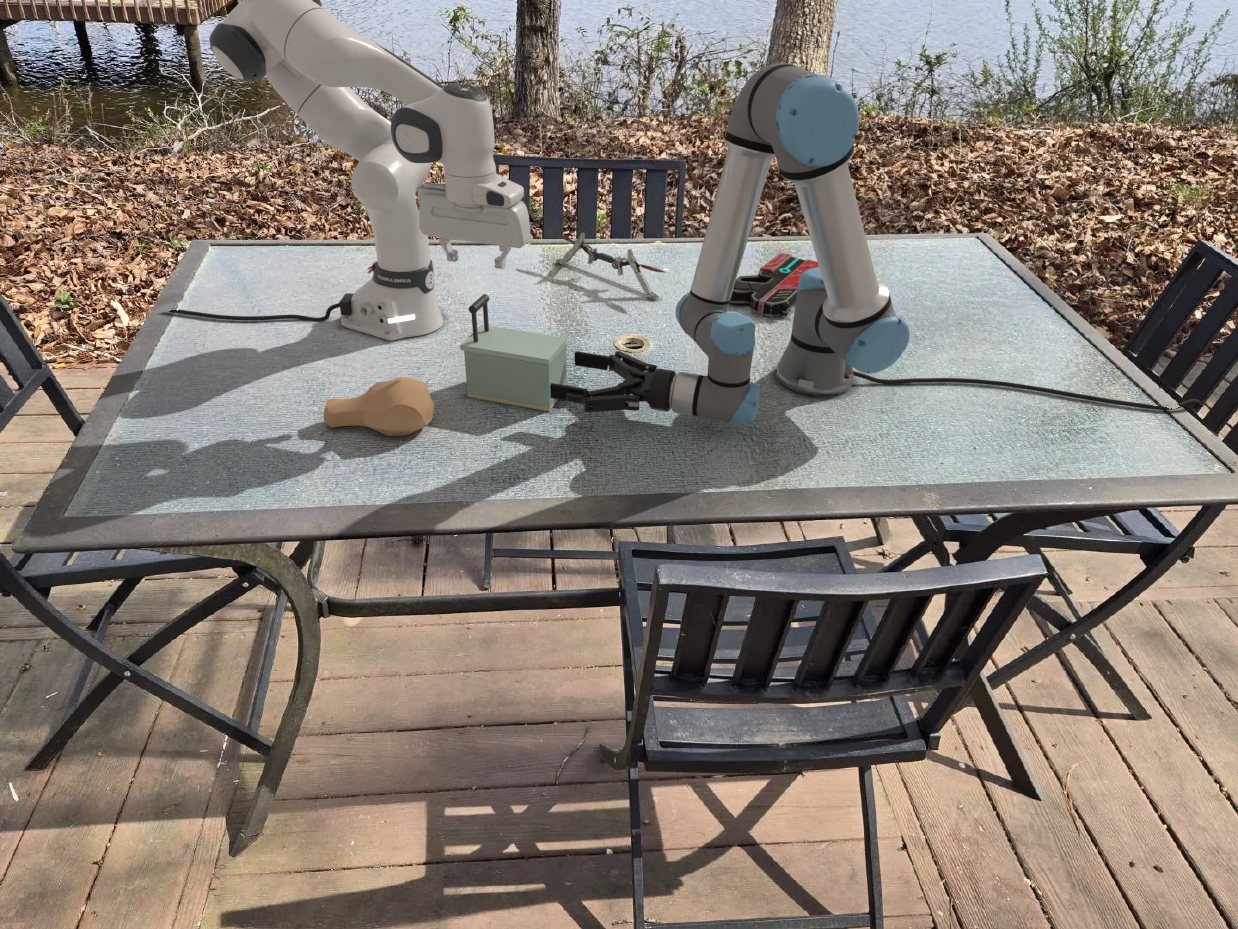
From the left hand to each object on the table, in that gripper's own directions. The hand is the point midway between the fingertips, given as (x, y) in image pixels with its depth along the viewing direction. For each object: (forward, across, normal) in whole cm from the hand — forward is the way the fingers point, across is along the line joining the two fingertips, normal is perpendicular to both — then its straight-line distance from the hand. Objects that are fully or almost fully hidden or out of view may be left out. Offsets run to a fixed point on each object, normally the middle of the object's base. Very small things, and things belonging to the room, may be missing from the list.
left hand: (476, 264), depth 159 cm
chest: (+25, +7, 0) cm, 26 cm away
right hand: (+19, +17, -1) cm, 25 cm away
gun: (+25, +46, +68) cm, 86 cm away
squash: (+25, -11, -20) cm, 34 cm away
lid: (+15, +7, 0) cm, 17 cm away
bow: (+25, +5, +60) cm, 66 cm away
